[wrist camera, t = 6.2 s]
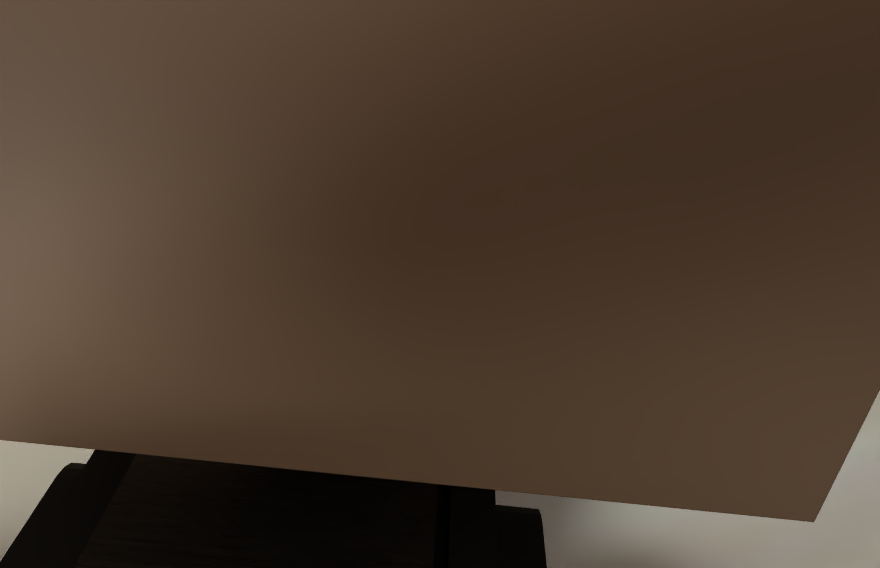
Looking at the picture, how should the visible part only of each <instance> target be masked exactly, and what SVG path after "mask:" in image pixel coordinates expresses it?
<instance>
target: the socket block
mask: <svg viewBox="0 0 880 568" xmlns="http://www.w3.org/2000/svg"><path fill="white" fill-rule="evenodd" d="M879 390H880V0H0V440H7V441H17V442H27V443H37V444H47V445H57V446H66V447H76V448H86V449H96V450H106V451H116V452H126V453H136V454H146V455H156V456H165V457H175V458H185V459H195V460H205V461H215V462H225V463H235V464H245V465H254V466H264V467H274V468H284V469H294V470H304V471H314V472H324V473H334V474H343V475H353V476H363V477H373V478H383V479H393V480H403V481H413V482H423V483H432V484H442V485H452V486H462V487H472V488H482V489H492V490H502V491H512V492H521V493H531V494H541V495H551V496H561V497H571V498H581V499H591V500H601V501H611V502H620V503H630V504H640V505H650V506H660V507H670V508H680V509H690V510H700V511H709V512H719V513H729V514H739V515H749V516H759V517H769V518H779V519H789V520H798V521H808V522H814V521H815V519H816V517H817V515H818V513H819V511H820V509H821V507H822V505H823V503H824V501H825V499H826V497H827V495H828V493H829V491H830V489H831V487H832V485H833V483H834V481H835V479H836V477H837V475H838V473H839V471H840V469H841V467H842V465H843V463H844V461H845V459H846V457H847V455H848V453H849V451H850V449H851V447H852V445H853V443H854V441H855V439H856V437H857V435H858V433H859V430H860V428H861V426H862V424H863V422H864V420H865V418H866V416H867V414H868V412H869V410H870V408H871V406H872V404H873V402H874V400H875V398H876V396H877V394H878V392H879Z"/></svg>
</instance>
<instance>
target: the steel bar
mask: <svg viewBox="0 0 880 568" xmlns="http://www.w3.org/2000/svg"><path fill="white" fill-rule="evenodd" d="M437 494H438V484H432V483H423V482H413V481H403V480H393V479H383V478H373V477H363V476H353V475H343V474H334V473H324V472H314V471H304V470H294V469H284V468H274V467H264V466H254V465H245V464H235V463H225V462H215V461H205V460H195V459H185V458H175V457H165V456H156V455H146V454H136V456H135V458H134V460H133V461H132V463H131V465H130V467H129V469H128V471H127V472H126V474H125V476H124V478H123V480H122V481H121V483H120V485H119V487H118V489H117V490H116V492H115V494H114V496H113V498H112V500H111V501H110V503H109V505H108V507H107V509H106V510H105V512H104V514H103V516H102V518H101V519H100V521H99V523H98V525H97V527H96V529H95V530H94V532H93V534H92V536H91V538H90V539H89V541H88V543H87V545H86V547H85V548H84V550H83V552H82V554H81V556H80V557H79V559H78V561H77V563H76V565H75V567H74V568H433V563H434V546H435V529H436V512H437Z"/></svg>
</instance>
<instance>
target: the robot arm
mask: <svg viewBox="0 0 880 568" xmlns="http://www.w3.org/2000/svg"><path fill="white" fill-rule="evenodd" d="M135 456H136V453H126V452H116V451H106V450H96V449H95V451H94V452H93V454H92V456H91V457H90V459H89V460H88V462H87V464H81V463H70V464H69V465H67V466H65V467H64V468H63V469H62V470H61V472H60V473H59V474H58V475H57V476H56V478H55V479H54V481H53V482H52V484H51V486H50V487H49V489H48V490H47V492H46V493H45V495H44V496H43V498H42V499H41V501H40V502H39V504H38V505H37V507H36V508H35V510H34V511H33V513H32V514H31V516H30V517H29V519H28V520H27V522H26V524H25V525H24V527H23V528H22V530H21V531H20V533H19V534H18V536H17V537H16V539H15V540H14V542H13V543H12V545H11V546H10V548H9V549H8V551H7V552H6V554H5V555H4V557H3V558H2V560H1V562H0V568H74V567H75V565H76V563H77V561H78V559H79V557H80V556H81V554H82V552H83V550H84V548H85V547H86V545H87V543H88V541H89V539H90V538H91V536H92V534H93V532H94V530H95V529H96V527H97V525H98V523H99V521H100V519H101V518H102V516H103V514H104V512H105V510H106V509H107V507H108V505H109V503H110V501H111V500H112V498H113V496H114V494H115V492H116V490H117V489H118V487H119V485H120V483H121V481H122V480H123V478H124V476H125V474H126V472H127V471H128V469H129V467H130V465H131V463H132V461H133V460H134V458H135ZM433 568H547V565H546V555H545V545H544V535H543V525H542V518H541V514H540V511H539V509H532V508H522V507H512V506H502V505H495V490H492V489H482V488H472V487H462V486H452V485H442V484H438V494H437V512H436V529H435V546H434V563H433Z"/></svg>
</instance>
